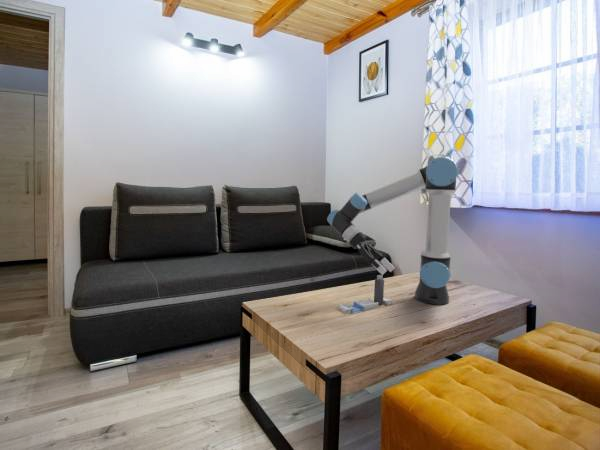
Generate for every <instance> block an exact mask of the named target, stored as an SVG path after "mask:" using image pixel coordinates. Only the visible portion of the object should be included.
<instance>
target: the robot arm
mask: <svg viewBox="0 0 600 450" xmlns="http://www.w3.org/2000/svg"><path fill="white" fill-rule="evenodd" d="M458 175H459V166H457V163H456V162H455V160H453V159H452V158H451V157H447V156H438V157H435V158H433V159H432V160H431V161H430V162H428V165H427V166H425V167H422V168H419V169H418V171H417V172H416V173H414V174H411V175H409V176H406V177H404V178H402V179H401V178H400V179H399V180H397V181H395V182H392V183H390V184H387V185H384V186H382V187H380V188H377V189H375V190H373V191H370V192H367V193H365V194H363V195H362V194H360V193H358V192H355V193H354V194H352V196H350V197H349V199H348V200H347V202H346V203H345V204H344V205H343V206H342V208H341V209H340V210H339V209H337V208H336V209H334V210H332V211H331V212H330V213H329V215H328V216H327V217H326V220H327V222H328V224H329V225H330V226H331V227H332V228H333V229H334V230H335V231H336V232H337V233H338V234H339V235H340V236H341V237H342V238H343V241H346V242H347V243H348V244H349V246H351V247H352V248H353V249H354V250H357V251H358V252H359V253H360V255H361V256H362V258H363V259H364V260H365V261H366V262H367V265H368V266H370V265H371V266H373V267H374V268H375V269H376V270H377V271H378V273H380V275H382V276H383V275H385V273H386V272H388V271H389V272H390V273H392V272H393V271H394V270H395V269H396V267H395V266H394V265H393V264H392V263H390V262H389V260H388V259H387V258H386V255H385V254H383V253H382V252H380V251H379V250H378V249H377V248H375V247H374V246H373V245H371V244H370V242H365V241H366V240H367V236H366V235H364V234H363V232H361V231H360V229H359V228H358V227H356V226H355V224H353V223H352V222H353V221H354V220H355V219H356V217H357V216H359V214H361V213H365V212H367V211H369V210H371V209H374V208H376V207H378V206H381V205H384V204H386V203H389V202H392V201H395V200H397V199H399V198H402V197H405V196H407V195H409V194H412V193H415V192H418V191H419V190H422V189H424V190H425V191H426V192H427V193H428V203H427V220H426V233H425V234H426V236H425V249H424V250H422V251H421V254H420V270H419V281H418V285H417V287H416V289H415V292H414V299H415V300H417V301H419V302H421V303H424V304H430V305H439V306H440V305H447V304H448V303H449V302H450V296H449V292H448V288H447V284H448V283H449V281H450V279H451V276H452V275H451V257H452V256H451V254H450V253H449V252H448V244H449V243H448V241H449V231H450V230H449V229H450V216H451V200H452V194H453V193H455V192H456V187H457V177H458Z"/></svg>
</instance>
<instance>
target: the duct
mask: <svg viewBox="0 0 600 450" xmlns="http://www.w3.org/2000/svg"><path fill="white" fill-rule="evenodd" d="M384 304H385V305H386V306H389V305H393V299H388V298H386V297H385V296H384V295H383V305H384ZM375 308H379V306H378V302H376V303H375V302H374V300H371V298H366V299H365V298H364V299H359V300H355V301H353V302H352V305H347V304H345V303H339V304H338V309H339V310H340V311H341V312H343V313H345V314H354V313H357V312H360V311H363V312H364V311H366V310H367V311H368V310H371V309H375Z"/></svg>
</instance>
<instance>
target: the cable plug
mask: <svg viewBox="0 0 600 450" xmlns="http://www.w3.org/2000/svg"><path fill="white" fill-rule="evenodd" d="M384 287H385V279H383V275H382V274H377V275H376V278H375V279H374V289H373V290H374V295H373V302H375V303H376V302H378V307H379V306H383V305H384V303H383V296H384V293H385V292H384V290H385V288H384Z"/></svg>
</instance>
